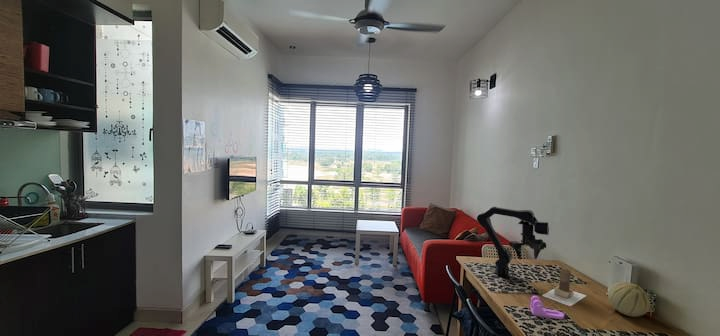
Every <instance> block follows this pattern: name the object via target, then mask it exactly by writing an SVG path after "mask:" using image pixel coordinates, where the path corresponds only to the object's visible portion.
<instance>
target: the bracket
mask: <svg viewBox="0 0 720 336" xmlns="http://www.w3.org/2000/svg"><path fill="white" fill-rule="evenodd" d="M530 311H531V313H532V315H533V316H537V317H544V318H548V319H549V318H550V319H557V320H564V319H565V314H564V313H563V312H561V311H559V310H557V309H548V308H544V304H543V302H542V300H541V298H540V297H539V296H538V295H532V296H531V297H530Z"/></svg>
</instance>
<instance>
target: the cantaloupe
mask: <svg viewBox="0 0 720 336" xmlns="http://www.w3.org/2000/svg"><path fill="white" fill-rule="evenodd" d="M607 293H608V294H607V295H608V296H607V297H608V301H609V303H610V304H611V306H612V307H613V308H614V309H615V310H616V311H618V312H619V313H620V314H623V315H625V316H628V317H633V318H638V317H642V316H644V315H646V313H648V311H649V309H650V306H651V300H650V297H649V295H648V293H647V292H646V291H645V290H644V289H643V288H642V287H640V285H638V284H634V283H631V282H629V281H627V282H625V281H623V282H617V283H614V284H613V285H611V287H610V288H609V290H608V292H607Z"/></svg>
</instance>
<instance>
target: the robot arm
mask: <svg viewBox="0 0 720 336" xmlns="http://www.w3.org/2000/svg"><path fill="white" fill-rule="evenodd" d="M494 215H500V216H505V217H511V218H516V219H518V220H520V221H519V222H518V225H521V229H522V230H521V231H522V232H521V233H520V236H521V240H520V242H519V241H517V240H514V241H513V240H512V241H510V242H509V247H511V248H513V250H514V252H515V253H516V256H517V258H518V260H519V261H520V260H521V259H522V250H523V249H522V247H529V248H530V249H532V250H533V257H534V260H537V258H538V257H539V254H540V253H541V251H543V250H544V249H547V243H546V242H545V241H544V240H543V239H540V238H539V239H536V235H535V234H537V235H545V236H549V234H550V227H549V222H543V221H539V220H538V219H537V218H536V217H535V214H534V211H532V210H530V209H518V210H517V209H511V208H510V209H509V208H503V207H497V206H492V207H491V208H489V209H488V210H487V211H485V212H482V213H479V214H478V215H477V217H476V221H477V222H478V224H479V225H480V226H481V227H482V228H483V229H484V230H485V231H486V234H487V235H488V237H489V239H490V240H491V242H492V244H493V246H494V247H495V248H494V249H496V252H497V253H496V254H497V258H498V259H496V261H495V262H494V263H495V268H494V269H495V271H493V273H494V274H495V275H496V276H497V277H499V278H500V277H505V278H506V277H510V275H509V274H510V268H509V264H510V262H512V260H513V254H512V252H511V250H510V249H509V248H506V247H505V246H504V245H503V243H502V241H501V240H500V238H499V236H498V234H497V232H496V231H495V229H494V227H493V225H492V221H491V220H492V219H491V217H492V216H494ZM534 232H535V234H534Z"/></svg>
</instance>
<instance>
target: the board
mask: <svg viewBox="0 0 720 336" xmlns="http://www.w3.org/2000/svg"><path fill="white" fill-rule="evenodd" d="M557 287H559V285H558V286H556V287H555V288H557ZM555 288H553V289H551V290H549V291H547V292H545V293H544V294H542V295H541V296H542V297H545V298H546V299H550V300H553V301H554V302H555V301H556V302H558V303H560V304H563V305H566V306H569V307H572V306H573V305H575V304H576V303H578V302H579V301H580V300H583V298H585V297H587V295H586V294H584V293H580V292H578V291H574V292H573V296H572V297H570V298H569V299H565V298H562V297H559V296H557V295H554V290H555Z"/></svg>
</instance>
